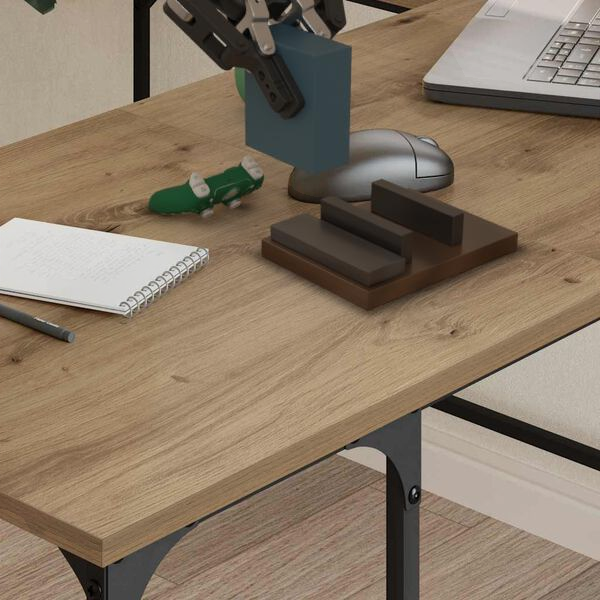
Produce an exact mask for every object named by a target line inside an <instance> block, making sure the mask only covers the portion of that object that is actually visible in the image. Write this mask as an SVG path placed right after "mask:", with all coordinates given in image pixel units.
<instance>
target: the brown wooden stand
mask: <svg viewBox="0 0 600 600" xmlns="http://www.w3.org/2000/svg"><path fill="white" fill-rule="evenodd" d="M370 185H371V190H370V201H367V202H365V203H362V204H358V205H354V204H352V203H349V202H347V201H346V200H342V199H341V198H338V197H336V196H334V195H329V196H326V197H323V198H321V199H320V212H319V213H320V214H319V215H320V216H319V217H320V218H319V217H317V216H315V215H313V214H310V213H309V212H304V213H301V214H298V215H296V216H293V217H289V218H286V219H284V220H281V221H277V222H275V223H272V224H270V235H268V236H265V237H262V238H261V239H260V240H261V241H260V243H261V244H260V246H261V250H260V252H261V253H260V254H261V257H263V258H264V259H266V260H268V261H270V262H273V263H274V264H276V265H278V266H280V267H282V268H284V269H286V270H288V271H290V272H292V273H294V274H295V275H298V276H299V277H302V278H303V279H305V280H308V281H310V282H311V283H314V284H315V285H318V286H319V287H321V288H323V289H325V290H327V291H329V292H331V293H332V294H334V295H337V296H339V297H341V298H342V299H345V300H347V301H348V302H350V303H352V304H354V305H356V306H358V307H359V308H362V309H364V310H366V311H370V310H372V309H374V308H377V307H380V306H382V305H384V304H387V303H389V302H393V301H394V300H397V299H400V298H401V297H405V296H408V295H409V294H411V293H414V292H417V291H419V290H421V289H424V288H427V287H430V286H432V285H434V284H436V283H439V282H442V281H444V280H446V279H448V278H451V277H453V276H456V275H458V274H461V273H463V272H466V271H468V270H471V269H473V268H476V267H478V266H481V265H483V264H485V263H488V262H490V261H493V260H496V259H498V258H500V257H503V256H505V255H508V254H510V253H513V252H515V251H517V250H518V239H519V233H518V232H517V231H514V230H512V229H510V228H508V227H505V226H503V225H500V224H499V223H498V224H497V223H495V222H493V221H490V220H488V219H486V218H484V217H481V216H478V215H476V214H474V213H471V212H469V211H467V210H464V209H462V208H459V207H458V206H454V205H452V204H450V203H447V202H445V201H442V200H440V199H437V198H435V197H433V196H430V195H427V194H425V193H423V192H420V191H418V190H416V189H413V188H411V187H407V188H405V187H403V186H401V185H398V184H396V183H393V182H391V181H388V180H386V179H384V178H380V179H377V180H374V181H372V182H371V184H370Z"/></svg>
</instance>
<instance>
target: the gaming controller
mask: <svg viewBox="0 0 600 600" xmlns="http://www.w3.org/2000/svg"><path fill="white" fill-rule="evenodd" d="M264 181H265V175H264V171H263V169H262V168H261V167H260V166H259V164H258V162H256V160H255V159H254V158H253V156H250V155H249V154H247V155H244V157H243V159H242V161H240V162H239V164H238V165H237V166H231V167H228V168H226V169H225V170H224V171H222V172H221V173H218V174H216V175H212V176H209V177H205V178H204V177H203V176H202V175H201V173H200V172H199V171H193V172H192V173H191V174H190V177H189V179H187V180H186V182H185V183H183V184H179V185H175V186H171V187H170V186H169V187H166V188H162V189H159V190H156V191H155V192H153V194H152V195H150V197H149V201H148V204H147V208H148V210H149V211H150V212H152V213H156V214H158V215H164V216H181V215H187V214H196V215H198V216H201V218H203V219H207V218H209V217H211V216H212V215H213V214H214V210H213V209H214V207H215V206H217V205H219V204H222V205H224V206H226V207H228V208H229V209H231V210H232V209H235V208H237V207H239V206H240V205H241V204H242V201H241V200H242V197H243V196H245V195H246V196H248V195H250V194H252V193H253V192H255V191H258V190H259V189H260V188H262V187H263V183H264Z"/></svg>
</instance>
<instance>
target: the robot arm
mask: <svg viewBox="0 0 600 600" xmlns="http://www.w3.org/2000/svg"><path fill="white" fill-rule="evenodd" d="M290 5H291V7H290ZM289 7H290V9H289V10H288V11H287V12H285V11H286V10H287V9H288V8H289ZM162 11H163V13H164V15H165V16H166V17H168V18H169V19H170V20H171V21H172V22H173V23H174V24H175V25H176V26H177V27H178V28H179V29H180V30H181V31H182V32H183V33H184V34H185V35H186V36H187V37H188V38H189V39H190V40H191V41H192V42H193V43H194V44H195V45H196V46H197V47H198V48H199V49H200V50H201V51H202V52H203V53H204V54H205V55H207V56H208V58H209V59H210V60H212V62H213V63H215V65H216V66H218V68H220V69H221V70H223V71H226V72H228V71H231V70H233V68H235V67H237V68H244V69H245V70H246V71H247V72H249V73H252V74H253V75H254V77H255V79H256V81H257V83H258V85H259V87H260V88H261V90H262V92H263V93H264V96H265V98H266V99H267V102H268V103H269V105H270V107H271V108H272V109H273V110H274V111H275V112H276V113H279V114H280V116H281V118H282V119H284V120H287V119H290V118H293V117H295V116H296V115H297V114H298V113H299V112H300V111H301V110H302V109H303V108H304V106H305V99H304V97H303V95H302V93H301V91H300V89H299V88H298V86H297V84H296V82H295V80H294V78H293V76H292V75H291V73H290V71H289V69H288V67H287V65H286V63H285V62H284V60H283V58H282V56H281V54H279V55H274V53H275V51H276V46H275V43H274V40H273V37H272V34H271V32H270V29H269V26H268V25H272V24H276V23H281V24H284V25H288V26H293V27H296V28H299V29H302V30H304V28H305V29H306V31H308V32H311V33H314V34H316V35H319V36H322V37H325V38H328V39H331V40H333V39H334V38H335V37H336V36H337V35H338V33H339V32H340V31H342V30H343V29H344V28H345V27H346V26H347V17H346V16H347V15H346V11H345V3H344V0H166V1H164V3H163V4H162ZM301 24H302V25H301ZM303 27H304V28H303ZM252 39H253V41H252ZM223 43H224V44H223Z"/></svg>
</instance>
